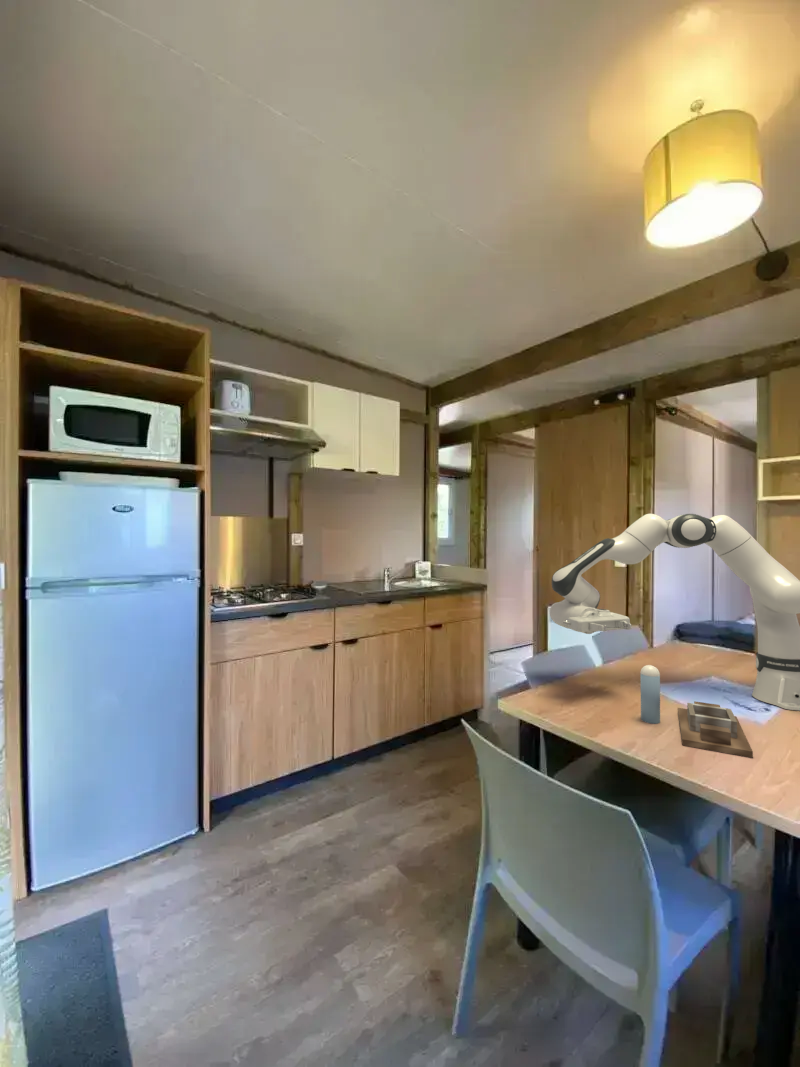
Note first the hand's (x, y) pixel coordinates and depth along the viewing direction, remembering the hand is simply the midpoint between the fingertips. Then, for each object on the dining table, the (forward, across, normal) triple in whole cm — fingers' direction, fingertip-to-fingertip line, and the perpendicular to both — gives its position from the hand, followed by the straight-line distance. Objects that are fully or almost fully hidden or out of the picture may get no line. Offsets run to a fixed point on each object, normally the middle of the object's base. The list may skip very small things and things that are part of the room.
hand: (617, 627), depth 142 cm
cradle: (+24, +8, +24) cm, 34 cm away
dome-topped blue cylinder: (+12, 0, +24) cm, 27 cm away
